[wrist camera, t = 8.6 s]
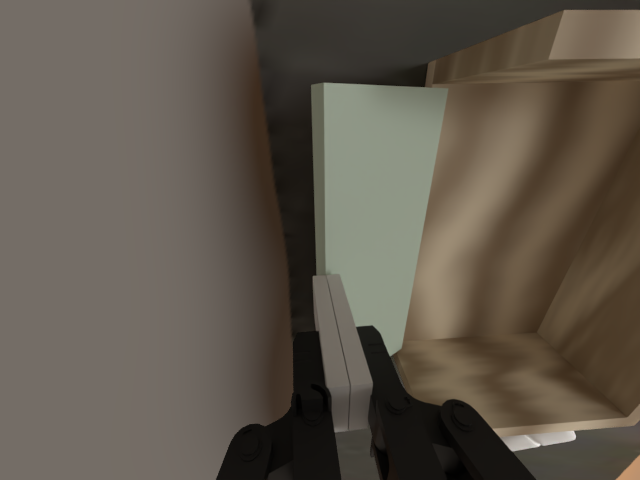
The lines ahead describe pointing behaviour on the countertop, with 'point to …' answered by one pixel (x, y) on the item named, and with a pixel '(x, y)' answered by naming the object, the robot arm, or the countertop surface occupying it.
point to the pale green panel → (374, 193)
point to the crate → (534, 230)
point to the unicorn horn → (537, 440)
